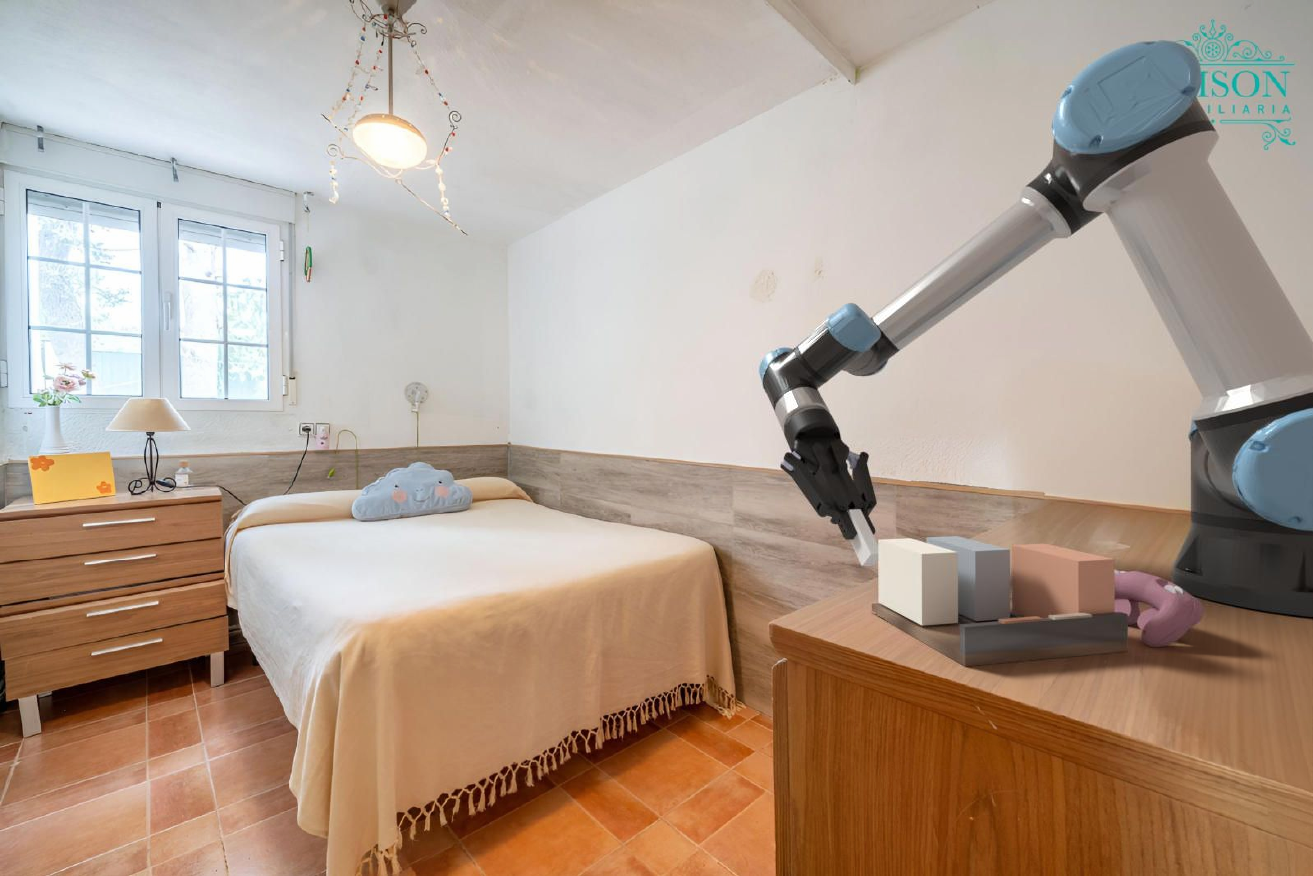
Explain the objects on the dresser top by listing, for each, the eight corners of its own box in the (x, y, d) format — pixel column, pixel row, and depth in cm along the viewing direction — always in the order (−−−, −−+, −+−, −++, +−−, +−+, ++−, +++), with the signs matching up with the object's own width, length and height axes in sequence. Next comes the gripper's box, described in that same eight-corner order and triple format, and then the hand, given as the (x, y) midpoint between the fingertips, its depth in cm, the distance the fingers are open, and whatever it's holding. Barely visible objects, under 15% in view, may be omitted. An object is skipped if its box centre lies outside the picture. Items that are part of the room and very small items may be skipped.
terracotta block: (1012, 611, 53) (1012, 545, 53) (1044, 609, 54) (1044, 543, 54) (1078, 637, 46) (1078, 561, 46) (1114, 634, 47) (1114, 559, 47)
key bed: (871, 612, 57) (871, 580, 57) (1002, 603, 60) (1002, 573, 60) (965, 666, 43) (964, 624, 43) (1127, 651, 46) (1127, 612, 46)
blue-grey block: (926, 599, 57) (926, 537, 57) (957, 597, 58) (957, 536, 58) (975, 621, 50) (975, 551, 50) (1010, 618, 51) (1009, 549, 51)
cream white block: (878, 602, 56) (878, 539, 56) (910, 600, 57) (910, 538, 57) (921, 625, 49) (921, 554, 49) (957, 622, 50) (957, 552, 50)
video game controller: (1190, 666, 47) (1224, 599, 47) (1146, 644, 47) (1180, 577, 47) (1097, 626, 57) (1125, 570, 57) (1060, 608, 57) (1088, 552, 57)
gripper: (837, 441, 81) (906, 573, 64) (760, 441, 78) (811, 578, 62) (856, 406, 75) (936, 540, 59) (773, 405, 73) (833, 544, 57)
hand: (872, 559), depth 61 cm, fingers closed
